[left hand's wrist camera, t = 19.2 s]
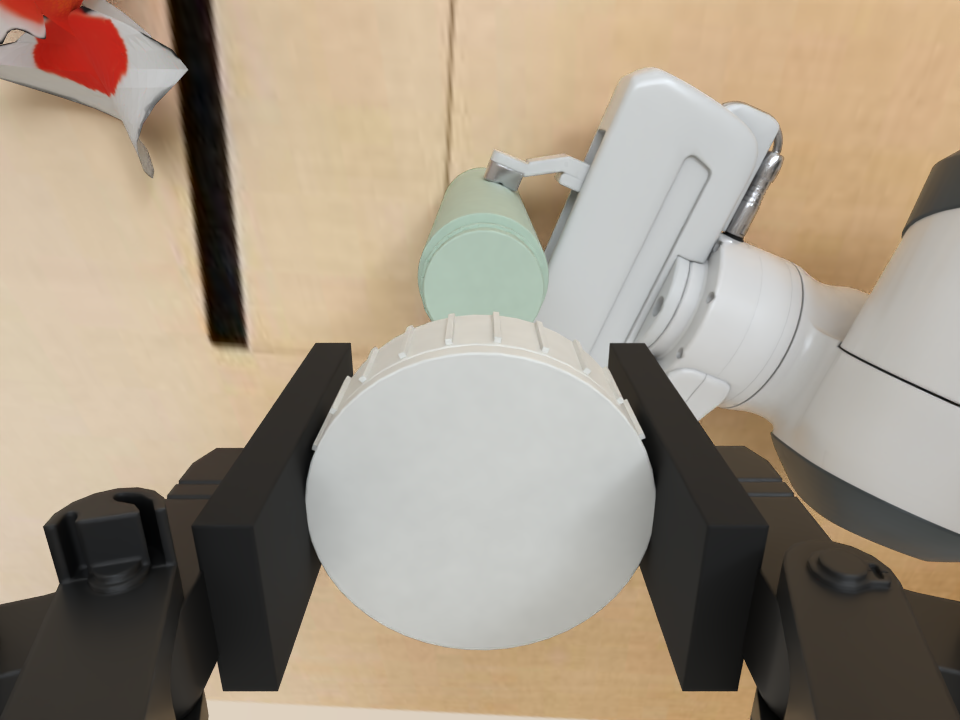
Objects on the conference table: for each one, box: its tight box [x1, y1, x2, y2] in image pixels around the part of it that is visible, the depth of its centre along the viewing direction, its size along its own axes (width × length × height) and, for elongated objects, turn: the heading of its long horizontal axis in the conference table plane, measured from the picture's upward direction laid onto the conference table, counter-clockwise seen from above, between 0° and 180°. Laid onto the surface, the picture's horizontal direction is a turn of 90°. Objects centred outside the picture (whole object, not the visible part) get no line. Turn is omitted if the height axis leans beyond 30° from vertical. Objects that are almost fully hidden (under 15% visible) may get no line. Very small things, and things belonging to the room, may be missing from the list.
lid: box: [305, 312, 656, 650], centre depth 11 cm, size 6×6×2 cm
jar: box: [418, 168, 549, 323], centre depth 31 cm, size 5×5×19 cm
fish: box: [0, 0, 188, 178], centre depth 33 cm, size 11×16×10 cm
